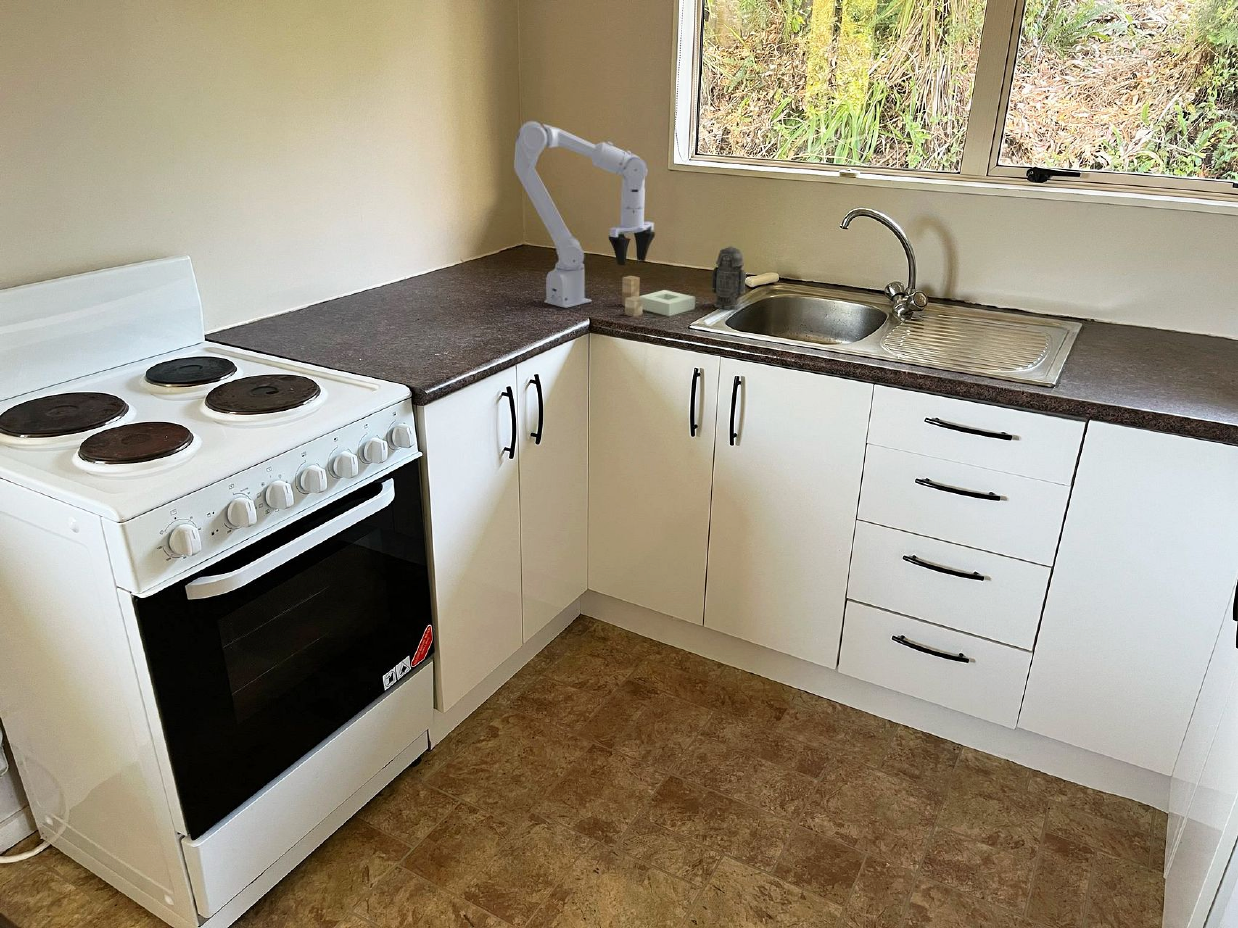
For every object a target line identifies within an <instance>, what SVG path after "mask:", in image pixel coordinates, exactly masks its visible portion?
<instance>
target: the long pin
mask: <svg viewBox="0 0 1238 928" xmlns="http://www.w3.org/2000/svg"><path fill="white" fill-rule="evenodd" d="M640 279H641V278H640V277H638V276H634V275H628V276H623V277H622V286H621V287H622V288H621V289H622V291H621V294H622V295H621V305H622V306H624V307H625V298H629V297H633V296H634V297H638V296H640V282H641V281H640Z"/></svg>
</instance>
